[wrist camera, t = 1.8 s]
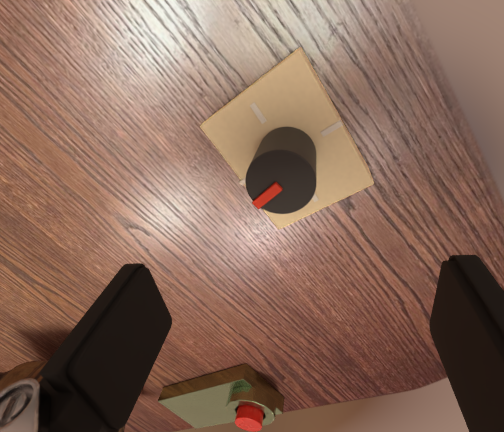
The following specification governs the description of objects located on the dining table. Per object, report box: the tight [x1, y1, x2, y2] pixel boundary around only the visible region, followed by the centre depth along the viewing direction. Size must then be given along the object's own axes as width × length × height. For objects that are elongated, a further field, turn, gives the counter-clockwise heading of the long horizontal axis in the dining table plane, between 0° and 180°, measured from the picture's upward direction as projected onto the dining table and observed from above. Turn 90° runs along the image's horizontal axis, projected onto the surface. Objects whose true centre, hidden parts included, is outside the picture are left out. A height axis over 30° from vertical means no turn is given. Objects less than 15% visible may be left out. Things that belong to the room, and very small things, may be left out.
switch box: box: [158, 364, 284, 428], centre depth 44 cm, size 19×9×4 cm, turn 129°
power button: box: [235, 405, 264, 431], centre depth 39 cm, size 4×4×2 cm
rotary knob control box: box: [200, 47, 374, 230], centre depth 21 cm, size 10×8×3 cm
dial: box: [245, 127, 316, 214], centre depth 18 cm, size 4×4×5 cm
